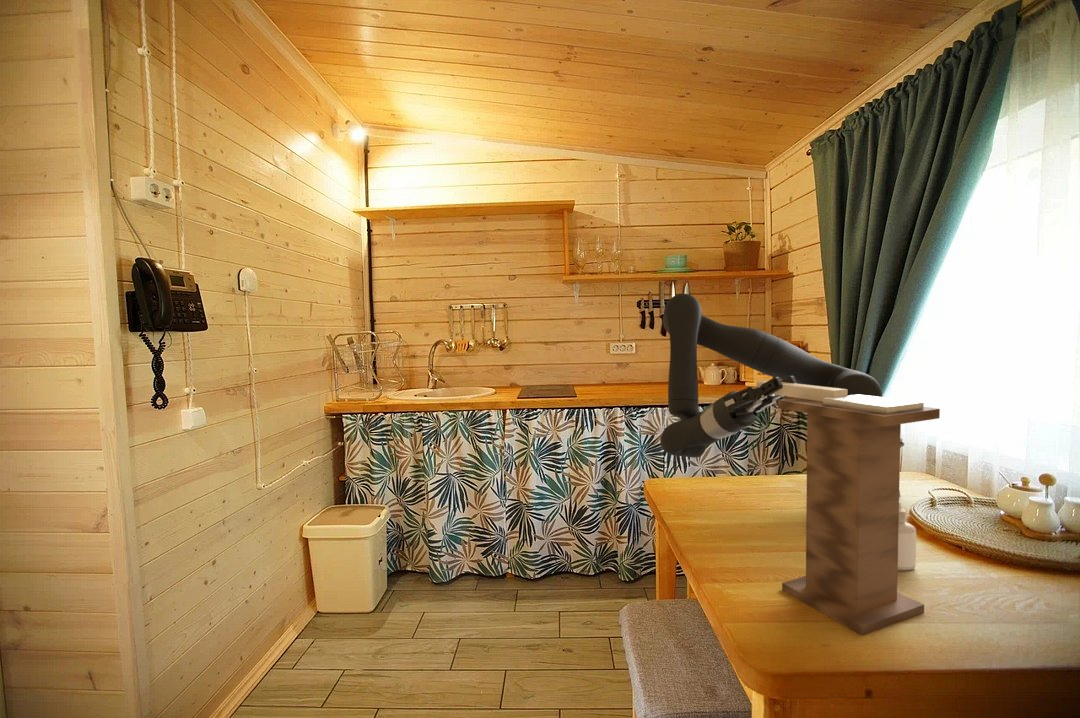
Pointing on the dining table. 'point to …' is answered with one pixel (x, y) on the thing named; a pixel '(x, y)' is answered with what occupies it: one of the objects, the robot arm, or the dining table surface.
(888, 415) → the shelf stand
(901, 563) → the eye dropper bottle
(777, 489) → the dining table surface
